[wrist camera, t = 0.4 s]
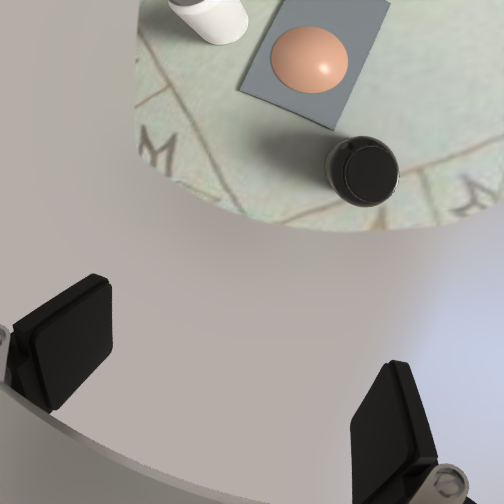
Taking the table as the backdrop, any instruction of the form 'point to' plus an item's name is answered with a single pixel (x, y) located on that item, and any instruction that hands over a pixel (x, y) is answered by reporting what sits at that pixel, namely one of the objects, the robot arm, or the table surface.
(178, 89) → the table surface
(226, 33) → the can
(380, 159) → the supplement bottle
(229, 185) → the table surface
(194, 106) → the table surface
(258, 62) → the card
